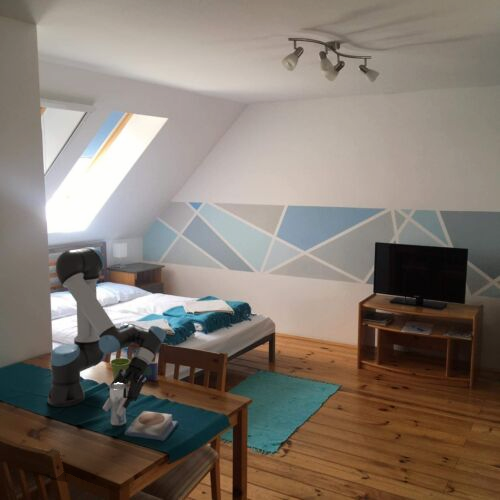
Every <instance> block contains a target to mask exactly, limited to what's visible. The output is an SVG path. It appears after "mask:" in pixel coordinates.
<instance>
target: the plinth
mask: <svg viewBox="0 0 500 500" xmlns="http://www.w3.org/2000/svg"><path fill="white" fill-rule="evenodd" d="M172 421H173V414H170V413H161V412H155V411H147V410H143V411H142V412H141V413H140V414H139V415H138V416H137V417H136V418H135V419H134V420H133V421H132V422H131V423H130V426H131V432H137V433H145V434H152V435H159V436H160V435H161V434H162V433H163V432H164V431H165V430H166V428H167V427H168V426H169V425H170V424H171V422H172Z"/></svg>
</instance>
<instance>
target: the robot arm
mask: <svg viewBox="0 0 500 500" xmlns="http://www.w3.org/2000/svg"><path fill="white" fill-rule="evenodd" d="M55 262H56V263H55V272H56V276H57V278H58V281H59V282H60V284H61V285H62V287H63V288H66V289H67V290H68V292H69V294H70V295H71V296H72V298H73V299H74V300H75V302H76V323H77V324H76V325H77V326H76V327H77V328H76V329H77V330H76V331H77V335H76V336H75V337H74V338H73V343H66V344H61V345H58V346H57V347H55V348H54V349H52V351H51V354H50V369H51V371H50V374H51V375H50V376H51V385H50V388H49V392H48V395H47V403H48V405H50V406H51V407H55V408H57V407H58V408H68V407H74V406H77V405H78V404H81V403H82V402H84V400H85V395H86V394H85V390H84V388H83V386H82V383H81V372H83V371H86V370H88V369H90V368H93V367H96V366H97V365H99V364H100V363H102V362H104V360H105V358H106V356H107V355H109V354H113V353H116V352H119V351H120V350H123V349H125V348H128V347H129V346H132V345H135V346H138V348H137V349H136V351H135V353H134V354H133V357H131V359H130V363H129V367H128V368H127V369H126V370H122V369H120V370H119V373H118V375H117V376H116V378H115V379H114V378H113V381H112V382H111V384H110V385H112V384H115V383H123V384H126V385H127V384H129V387H128V389H127V396H126V398H127V399H126V398H124V400H123V401H122V403H121V405H120V407H119V408H118V410H117V412H116V414H117V415H119V416H121V415H122V414H123V412H124V410H125V408H126V409H127V408H129V406H130V404H131V402H132V401H134V402H136V401H137V400H138V397H139V396H140V393H141V392H142V389H143V386H144V385H145V383H146V382H147V381H148V380H147V378H146V377H144V376H143V373H145V372H146V370H147V368H148V367H149V364H150V363H151V362H153V359H154V357H155V355H156V354H157V352H158V350H159V349H160V347H161V346H162V344H163V342H164V340H165V338H166V335H167V333H166V331H165V330H164V329H163V328H162V327H160V326H157V325H151V326H150V327H149V328H144V327H141V326H138V325H136V324H133V323H129V322H125V323H122V325H120V326H119V329H118V328H117V327H116V325H115V324H114V322H113V321H112V319H111V318H110V316H109V315H108V313H107V312H106V310H105V309H104V307H103V306H102V304H101V302H100V301H99V300H98V297H97V296H98V295H97V281H99V279H100V277H101V276H100V273H101V272H102V271H103V269H104V268H105V263H106V261H105V257H104V254H103V253H102V252H101V250H99V249H98V248H96V247H91V246H90V247H88V246H87V247H82V248H77V249H69V250H65V251H64V252H62V253H60V255H59V256H58V258H57V259H56V261H55ZM110 385H109V387H108V388H107V391H108V392H109V390H110ZM102 409H103V410H104V411H105V412H108V411H109V409H111V407H110V402H109V395H108V396H107V398H106V400H105V402H104V405H103V406H102ZM125 411H126V410H125Z"/></svg>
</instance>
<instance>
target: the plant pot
mask: <svg viewBox="0 0 500 500" xmlns="http://www.w3.org/2000/svg"><path fill="white" fill-rule="evenodd" d="M130 361H131V359H129V358H124V357H120V358H119V357H118V358H114V359H112V360H110V362H109V363H110V366H111V369H112V376H113V380H114V379H115V378H116V376H117V375H118V373H119V370H120V369H122V370H126V369H127V368H128V367H129V363H130Z"/></svg>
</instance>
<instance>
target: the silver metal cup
mask: <svg viewBox="0 0 500 500" xmlns="http://www.w3.org/2000/svg"><path fill="white" fill-rule="evenodd" d="M111 384H112V383H111ZM111 384H110V385H109V386H110V390H109V391H108V392H109V394H108V396H109V402H110V412H111V417H110V425H112V426H118V427H120V426H123V425H125V424H126V423H127V418H126V409H127V408H125V410H124V412H123V414H122V415H121V416H119V415H117V414H116V412H117V410H118V408H119V407H120V405H121V403H122V401H123V400H124V398H126V396H127V394H128V387H127V383H126V384H123V383H115V384H112V385H111ZM126 399H127V398H126Z"/></svg>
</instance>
